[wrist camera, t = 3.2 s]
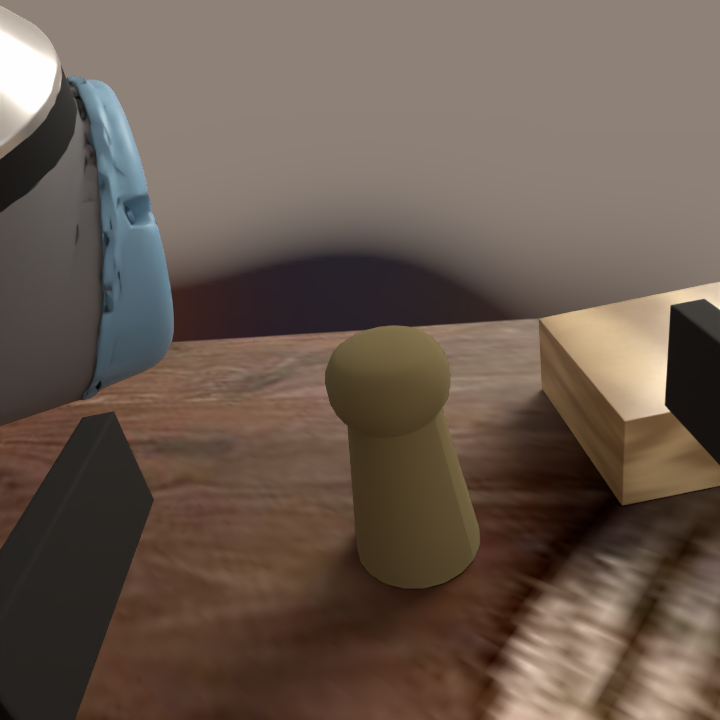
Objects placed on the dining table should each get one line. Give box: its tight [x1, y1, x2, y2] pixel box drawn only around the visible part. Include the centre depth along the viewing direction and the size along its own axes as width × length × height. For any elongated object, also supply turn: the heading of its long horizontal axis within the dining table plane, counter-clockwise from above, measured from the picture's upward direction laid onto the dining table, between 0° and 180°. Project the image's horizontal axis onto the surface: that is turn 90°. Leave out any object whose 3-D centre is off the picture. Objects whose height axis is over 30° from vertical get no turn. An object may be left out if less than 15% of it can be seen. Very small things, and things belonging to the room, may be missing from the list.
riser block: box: [539, 282, 720, 505], centre depth 33 cm, size 11×11×5 cm
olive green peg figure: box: [325, 326, 480, 589], centre depth 27 cm, size 6×6×11 cm
